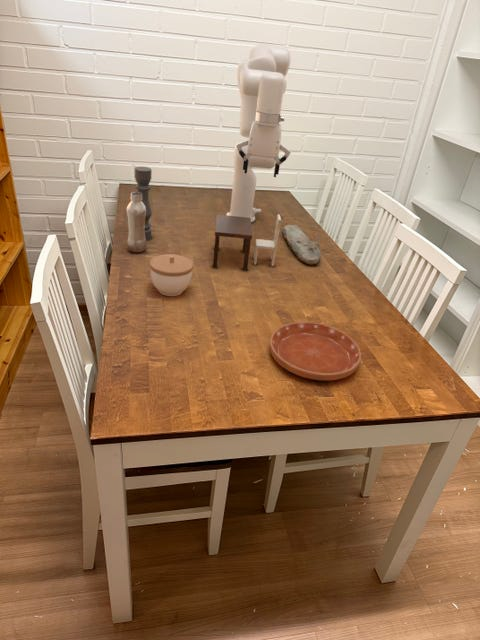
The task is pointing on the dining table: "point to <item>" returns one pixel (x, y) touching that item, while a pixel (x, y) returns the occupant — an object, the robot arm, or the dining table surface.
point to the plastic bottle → (136, 223)
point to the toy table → (233, 234)
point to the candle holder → (144, 194)
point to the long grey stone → (302, 245)
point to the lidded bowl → (171, 273)
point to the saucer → (315, 351)
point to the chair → (269, 242)
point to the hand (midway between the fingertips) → (260, 174)
